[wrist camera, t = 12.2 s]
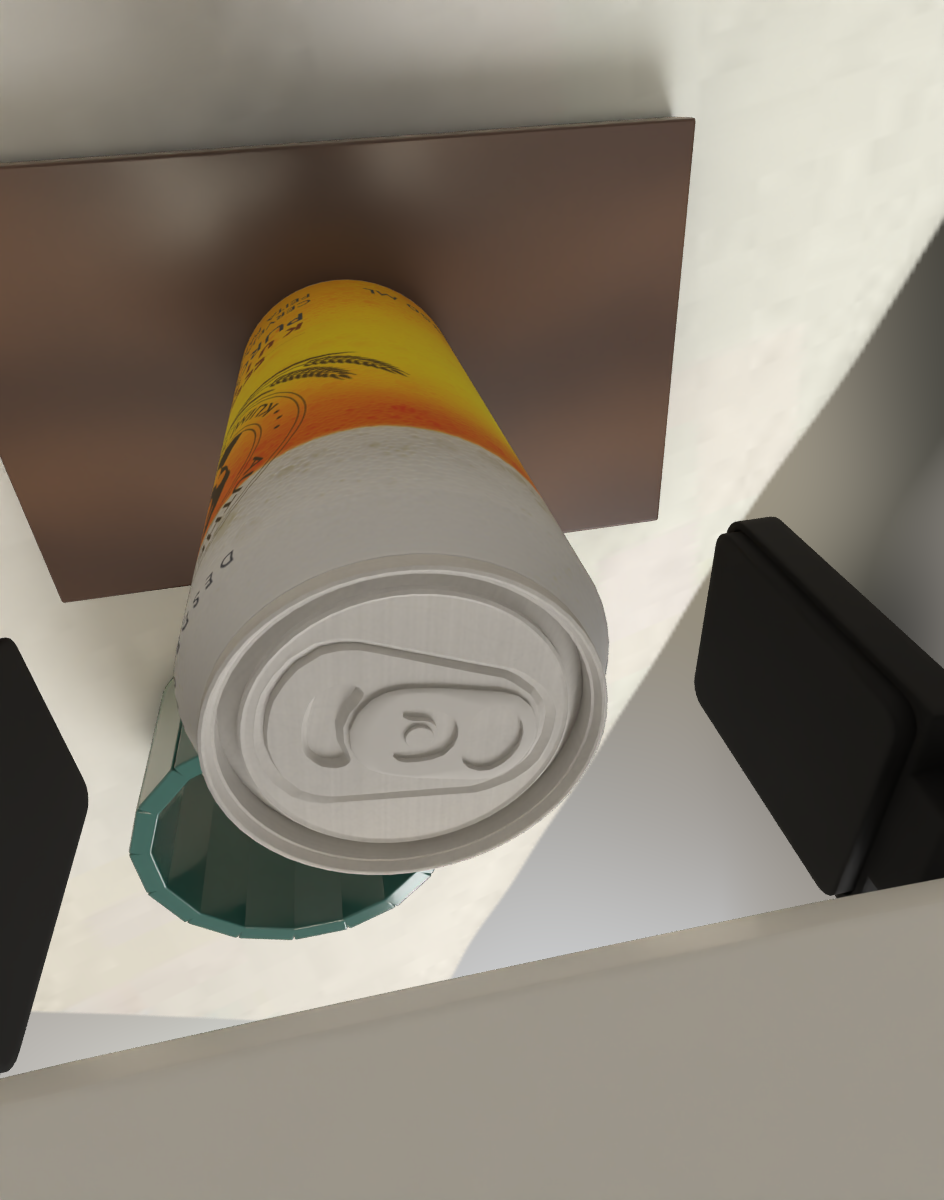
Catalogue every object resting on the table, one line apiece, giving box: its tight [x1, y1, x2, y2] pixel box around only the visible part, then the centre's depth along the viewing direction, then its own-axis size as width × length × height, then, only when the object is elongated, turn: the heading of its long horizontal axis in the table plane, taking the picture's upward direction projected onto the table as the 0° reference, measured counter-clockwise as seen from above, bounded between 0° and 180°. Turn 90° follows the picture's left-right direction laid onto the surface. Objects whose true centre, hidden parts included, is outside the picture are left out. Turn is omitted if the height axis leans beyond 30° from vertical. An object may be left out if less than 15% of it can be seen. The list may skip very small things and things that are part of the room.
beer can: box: [174, 280, 609, 875], centre depth 16 cm, size 6×6×15 cm
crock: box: [129, 678, 434, 940], centre depth 28 cm, size 10×10×6 cm
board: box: [0, 117, 695, 603], centre depth 23 cm, size 12×20×2 cm, turn 93°
